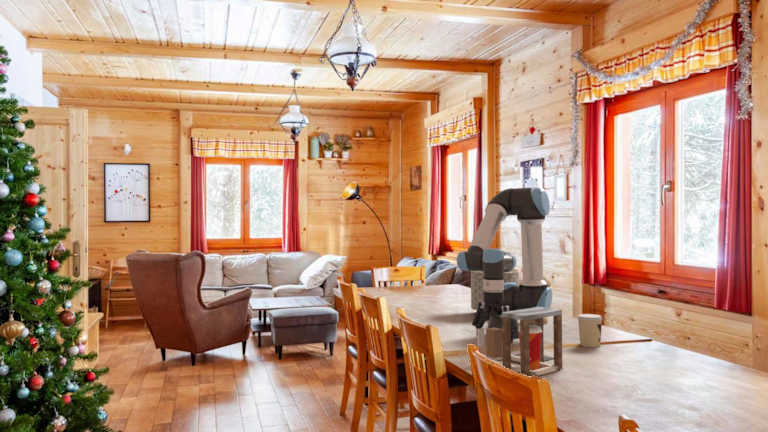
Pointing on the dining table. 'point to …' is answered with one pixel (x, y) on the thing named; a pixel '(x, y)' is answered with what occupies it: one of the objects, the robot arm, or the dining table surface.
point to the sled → (496, 354)
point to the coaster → (544, 357)
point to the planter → (478, 285)
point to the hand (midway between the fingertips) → (494, 349)
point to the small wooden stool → (524, 318)
